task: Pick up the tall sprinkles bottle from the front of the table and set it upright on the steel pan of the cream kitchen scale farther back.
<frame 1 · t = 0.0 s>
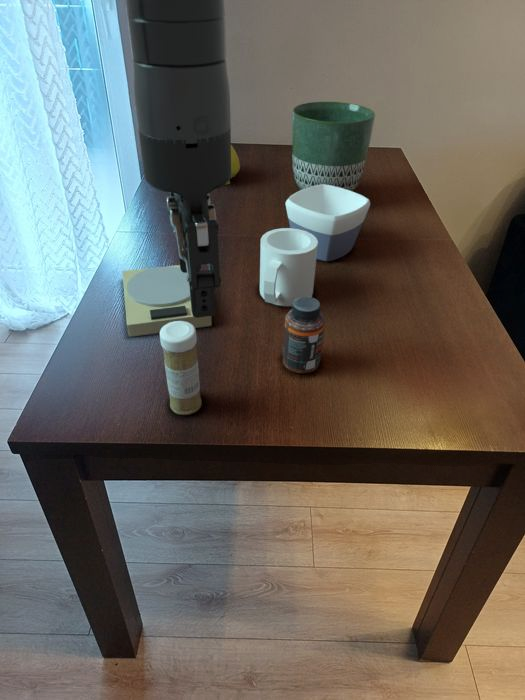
hand: (196, 291, 50), 24 cm above the table, tool pointing down, fingers open, 8 cm apart
mug: (283, 294, 94), on the table
bowl: (323, 248, 109), on the table
planter: (324, 199, 130), on the table
scale: (165, 302, 91), on the table
teapot: (213, 179, 140), on the table
sprinkles bottle: (185, 406, 71), on the table
supplement bottle: (300, 364, 78), on the table
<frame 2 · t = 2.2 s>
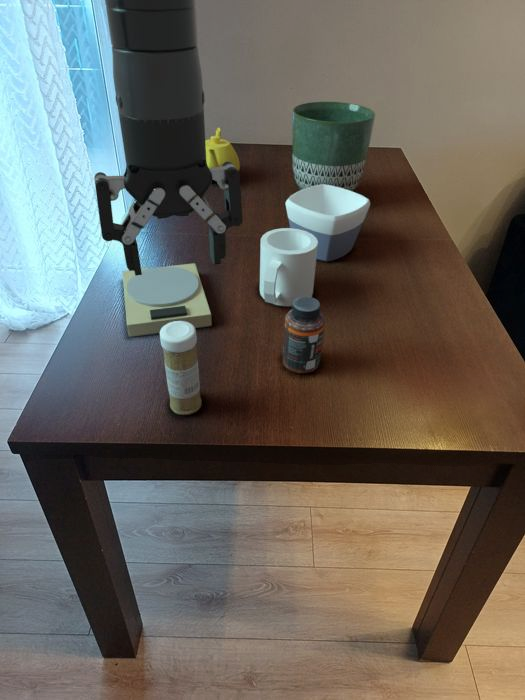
hand: (177, 266, 54), 24 cm above the table, tool pointing down, fingers open, 8 cm apart
nothing on the table moved.
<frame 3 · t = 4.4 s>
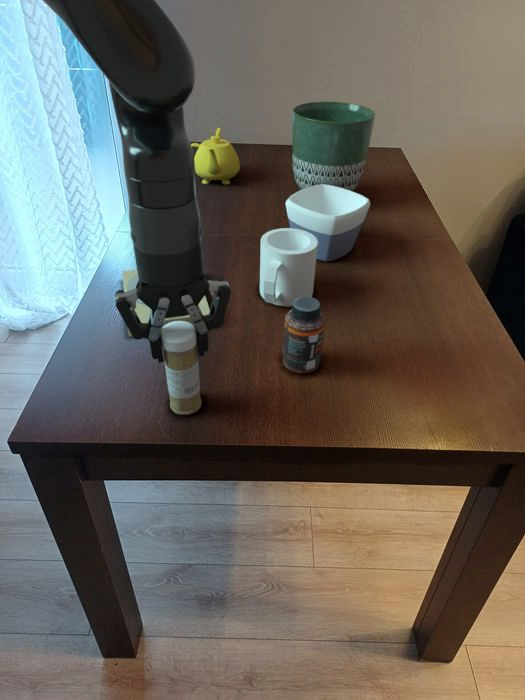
hand: (180, 354, 65), 9 cm above the table, tool pointing down, fingers closed on sprinkles bottle, 4 cm apart
sprinkles bottle: (185, 406, 71), on the table, touching gripper
everything else where it was.
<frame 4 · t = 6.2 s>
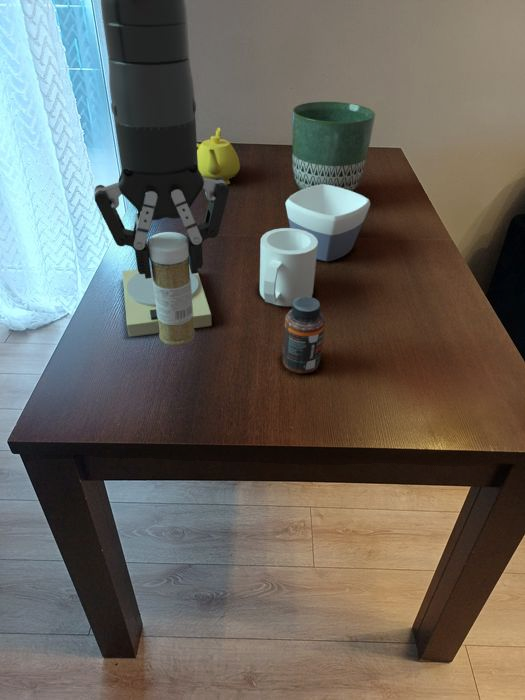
hand: (170, 272, 57), 22 cm above the table, tool pointing down, fingers closed on sprinkles bottle, 4 cm apart
sprinkles bottle: (177, 337, 63), point 12 cm above the table, touching gripper
everything else where it was.
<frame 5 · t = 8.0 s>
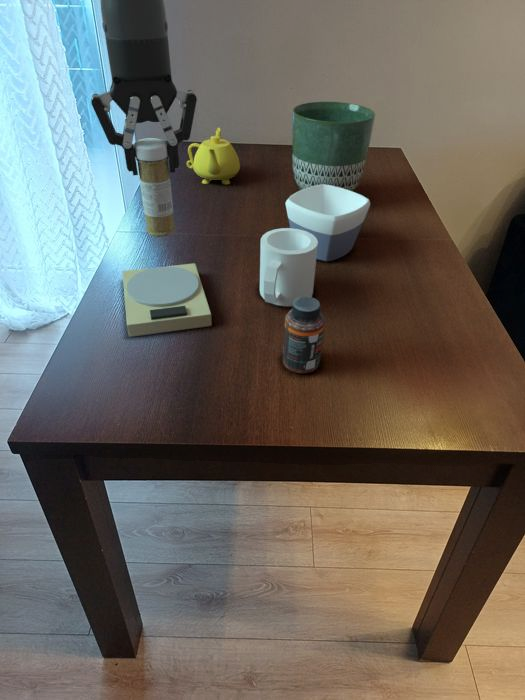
hand: (153, 171, 71), 26 cm above the table, tool pointing down, fingers closed on sprinkles bottle, 4 cm apart
sprinkles bottle: (161, 232, 77), point 16 cm above the table, touching gripper
everything else where it was.
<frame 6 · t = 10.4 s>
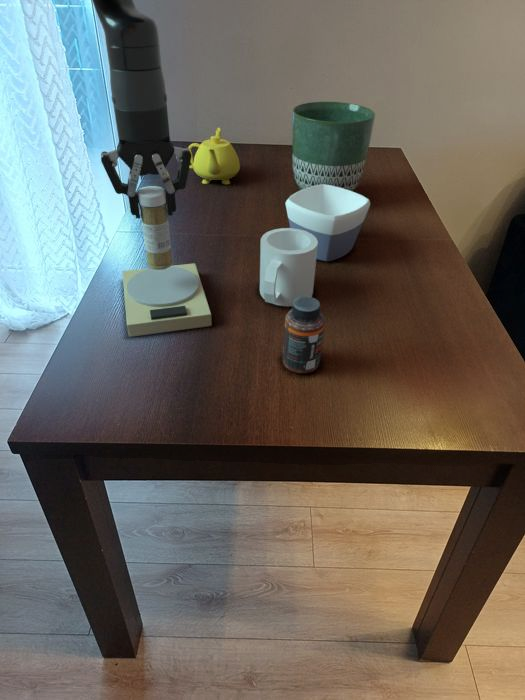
hand: (153, 214, 81), 16 cm above the table, tool pointing down, fingers closed on sprinkles bottle, 4 cm apart
sprinkles bottle: (160, 265, 87), point 7 cm above the table, touching gripper
everything else where it was.
when the fingers open (12 cm above the table, at t = 11.8 s): sprinkles bottle stays where it is, resting on scale.
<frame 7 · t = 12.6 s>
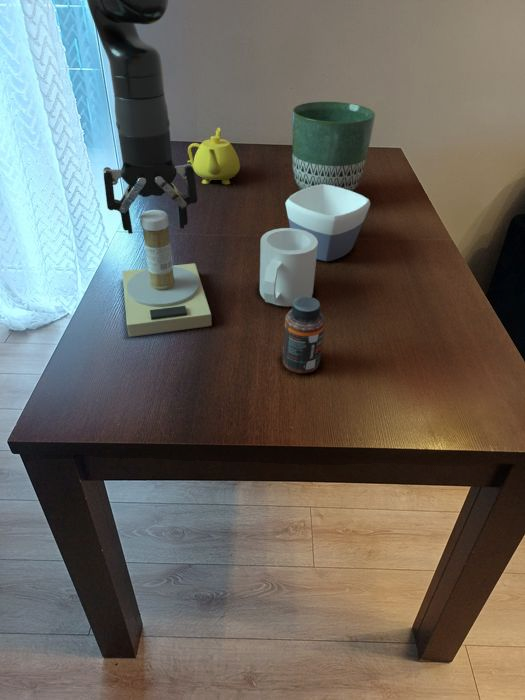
hand: (156, 229, 83), 14 cm above the table, tool pointing down, fingers open, 8 cm apart
sprinkles bottle: (162, 285, 90), point 3 cm above the table, touching scale
everything else where it was.
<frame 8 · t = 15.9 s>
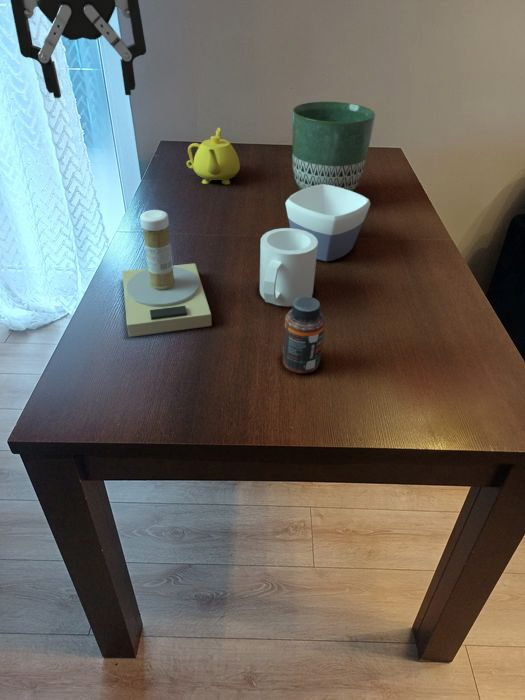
hand: (93, 95, 62), 36 cm above the table, tool pointing down, fingers open, 8 cm apart
nothing on the table moved.
at the end: sprinkles bottle inside the target area on the scale (0.1 cm from its centre), point 2.9 cm above the scale's base; sprinkles bottle tilted 0°; the gripper is holding nothing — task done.
